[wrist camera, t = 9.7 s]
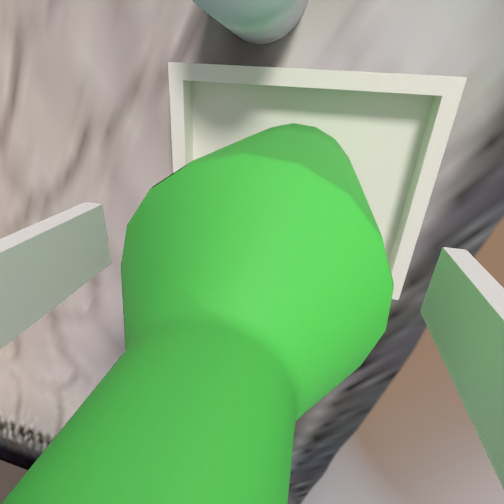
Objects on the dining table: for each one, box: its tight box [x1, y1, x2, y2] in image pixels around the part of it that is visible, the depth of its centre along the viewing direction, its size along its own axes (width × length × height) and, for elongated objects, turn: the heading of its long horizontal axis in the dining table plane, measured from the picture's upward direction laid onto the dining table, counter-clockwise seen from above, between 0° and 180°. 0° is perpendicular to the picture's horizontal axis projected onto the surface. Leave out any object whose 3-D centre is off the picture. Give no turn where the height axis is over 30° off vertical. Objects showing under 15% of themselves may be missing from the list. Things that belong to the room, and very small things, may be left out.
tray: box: [168, 62, 467, 300], centre depth 24 cm, size 18×15×2 cm
